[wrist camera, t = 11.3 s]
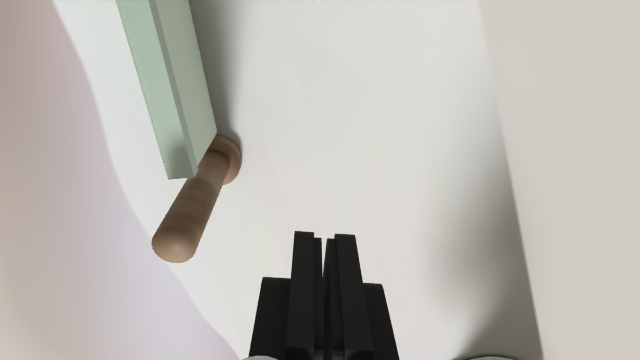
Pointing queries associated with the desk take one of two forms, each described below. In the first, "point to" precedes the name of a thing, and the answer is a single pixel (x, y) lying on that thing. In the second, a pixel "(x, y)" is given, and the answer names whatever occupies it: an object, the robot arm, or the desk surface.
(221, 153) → the brown turned wooden spindle
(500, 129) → the desk surface
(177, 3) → the panel
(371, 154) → the desk surface
